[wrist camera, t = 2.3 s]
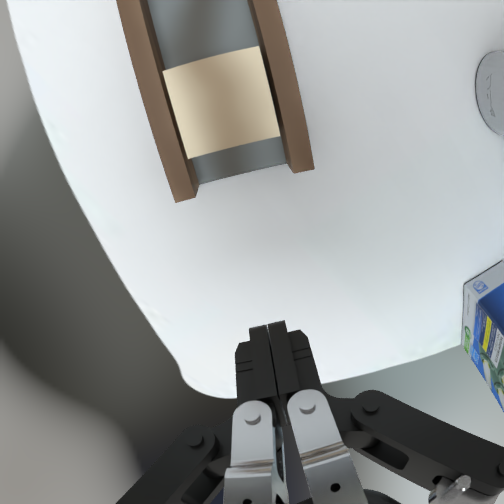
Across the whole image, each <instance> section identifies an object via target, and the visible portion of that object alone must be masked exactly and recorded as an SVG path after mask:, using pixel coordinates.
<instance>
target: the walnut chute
mask: <svg viewBox="0 0 504 504" xmlns="http://www.w3.org/2000/svg"><path fill="white" fill-rule="evenodd" d="M116 1H117V6H118V10H119V14H120V18H121V22H122V26H123V30H124V34H125V38H126V42H127V46H128V50H129V53H130V57H131V61H132V65H133V68H134V72H135V75H136V79H137V82H138V86H139V90H140V93H141V96H142V100H143V103H144V107H145V110H146V113H147V117H148V120H149V123H150V126H151V130H152V133H153V136H154V139H155V143H156V146H157V149H158V152H159V155H160V158H161V161H162V164H163V167H164V170H165V173H166V176H167V179H168V182H169V185H170V188H171V191H172V194H173V197H174V200H175V203H177V202H181V201H184V200H188V199H192V198H195V197H196V194H197V191H198V187H199V185H200V184H203V183H207V182H211V181H215V180H219V179H222V178H226V177H230V176H234V175H238V174H242V173H246V172H251V171H255V170H259V169H263V168H268V167H272V166H277V165H281V164H286V163H287V164H288V166H289V167H290V169H291V170H292V172H293V173H299V172H303V171H308V170H313V169H314V163H313V157H312V152H311V146H310V141H309V136H308V130H307V125H306V120H305V115H304V110H303V106H302V101H301V96H300V92H299V87H298V83H297V78H296V74H295V70H294V65H293V61H292V57H291V53H290V49H289V45H288V41H287V37H286V33H285V29H284V25H283V22H282V18H281V14H280V11H279V7H278V4H277V0H116ZM256 46H259V48H260V52H261V56H262V60H263V64H264V68H265V72H266V76H267V80H268V84H269V88H270V93H271V97H272V101H273V105H274V110H275V114H276V119H277V123H278V127H279V132H280V136H278V137H273V138H269V139H264V140H260V141H256V142H251V143H247V144H243V145H239V146H235V147H231V148H227V149H223V150H219V151H215V152H212V153H208V154H204V155H201V156H197V157H193V158H190V159H188V157H187V154H186V151H185V148H184V144H183V141H182V138H181V134H180V131H179V127H178V124H177V121H176V117H175V114H174V110H173V107H172V103H171V100H170V96H169V93H168V89H167V86H166V82H165V79H164V75H163V71H165V70H168V69H171V68H174V67H177V66H181V65H184V64H187V63H191V62H194V61H198V60H201V59H205V58H209V57H212V56H216V55H220V54H224V53H229V52H233V51H237V50H242V49H247V48H251V47H256Z"/></svg>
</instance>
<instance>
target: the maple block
mask: <svg viewBox="0 0 504 504" xmlns="http://www.w3.org/2000/svg"><path fill="white" fill-rule="evenodd" d="M163 75H164V79H165V82H166V86H167V89H168V93H169V96H170V100H171V103H172V107H173V110H174V114H175V117H176V121H177V124H178V127H179V131H180V134H181V138H182V141H183V144H184V148H185V151H186V154H187V157H188V159H190V158H193V157H197V156H201V155H204V154H208V153H212V152H215V151H219V150H223V149H227V148H231V147H235V146H239V145H243V144H247V143H251V142H256V141H260V140H264V139H269V138H273V137H278V136H280V132H279V127H278V123H277V119H276V114H275V110H274V105H273V101H272V97H271V93H270V88H269V84H268V80H267V76H266V72H265V68H264V64H263V60H262V56H261V52H260V48H259V46H256V47H251V48H247V49H242V50H237V51H233V52H229V53H224V54H220V55H216V56H212V57H209V58H205V59H201V60H198V61H194V62H191V63H187V64H184V65H181V66H177V67H174V68H171V69H168V70H165V71H163Z"/></svg>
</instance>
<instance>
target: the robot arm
mask: <svg viewBox="0 0 504 504" xmlns="http://www.w3.org/2000/svg"><path fill="white" fill-rule="evenodd" d="M476 94H477V100H478V105H479V108H480V112H481V114H482V116H483V118H484V120H485V122H486V123H487V125H488V126H489V127H490V128H491V129H492V130H493V131H494V132H496V133H497V134H499V135H502V136H504V51H495V52H491V53H489V54H487V55H486V56H485V57H484V58H483V60H482V62H481V64H480V65H479V69H478V72H477V78H476ZM268 330H269V332H268ZM249 334H250V341H247V342H242V343H239V345H238V347H237V349H236V352H235V364H236V365H235V366H236V386H237V409H236V410H235V412H234V414H233V416H232V417H231V418H230V419H229V420H227V421H226V422H224V423H222V424H219V425H217V426H215V427H212V428H209V427H207V426H204V425H193V426H190V427H188V428H186V429H185V430H184V431H183V432H182V433H181V434H180V435H179V436H178V437H177V439H176V440H175V441H174V442H173V443H172V444H171V445H170V446H169V447H168V449H167V450H166V451H165V452H164V453H163V454H162V455H161V456H160V457H159V458H158V460H157V461H156V462H155V463H154V464H153V465H152V466H151V467H150V468H149V469H148V470H147V471H146V472H145V474H144V475H143V476H142V477H141V478H140V479H139V480H138V481H137V482H136V483H135V484H134V485H133V486H132V487H131V488H130V489H129V490H128V491H127V492H126V493H125V495H124V496H123V497H122V498H121V499H120V500H119V501H118V502H117V503H116V504H210V503H211V501H212V500H213V499H214V498H215V497H216V495H217V494H218V493H219V492H220V491H221V489H222V488H223V487H224V503H223V504H289V500H288V499H289V498H288V491H287V488H286V478H285V477H286V476H285V461H284V460H285V459H284V444H283V434H282V428H281V427H282V426H287V422H286V418H287V421H288V424H289V425H291V424H292V428H293V432H294V435H295V439H296V442H297V446H298V450H299V453H300V456H301V461H302V464H303V468H304V472H305V475H306V479H307V482H308V486H309V489H310V493H311V498H309V499H307V500H304V501H302V502H300V503H297V504H401V503H399V502H397V501H396V500H394V499H392V498H390V497H389V496H387V495H385V494H383V493H381V492H377V491H374V490H368V489H363V488H362V485H361V482H360V480H359V477H358V474H357V472H356V469H355V466H354V464H353V461H352V458H351V456H350V453H349V451H348V449H347V448H353V449H354V450H355V451H357V452H359V453H360V454H362V455H363V456H365V457H367V458H369V459H370V460H372V461H374V462H376V463H378V464H379V465H381V466H383V467H385V468H387V469H388V470H390V471H392V472H394V473H396V474H398V475H400V476H401V477H404V478H406V479H407V480H409V481H411V482H413V483H415V484H417V485H419V486H421V487H423V488H426V489H427V490H429V491H431V492H430V495H429V499H428V500H429V504H494V503H495V501H496V499H497V497H498V495H499V494H500V493H501V492H502V491H503V490H504V447H502V446H499V445H497V444H495V443H492V442H490V441H487V440H485V439H482V438H480V437H478V436H475V435H473V434H471V433H468V432H466V431H464V430H461V429H459V428H457V427H455V426H452V425H450V424H448V423H446V422H443V421H441V420H439V419H437V418H435V417H433V416H430V415H428V414H426V413H424V412H422V411H420V410H418V409H415V408H413V407H411V406H409V405H407V404H405V403H403V402H401V401H399V400H397V399H395V398H393V397H390V396H389V395H386V394H384V393H383V392H380V391H376V390H368V391H364V392H362V393H360V394H359V395H357V396H356V397H355V398H353V399H350V398H336V397H333V396H330V395H328V394H327V393H326V392H325V391H324V390H323V388H322V386H321V383H320V379H319V376H318V372H317V368H316V365H315V361H314V358H313V354H312V351H311V348H310V344H309V341H308V337H307V336H306V335H305V334H304V333H303V332H302V331H301V330H296V331H291V332H287V328H286V324H285V320H283V321H279V322H275V323H270V324H268V328H267V325H262V326H257V327H253V328H249ZM285 415H286V416H285Z"/></svg>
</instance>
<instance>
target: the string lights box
mask: <svg viewBox="0 0 504 504" xmlns="http://www.w3.org/2000/svg"><path fill="white" fill-rule="evenodd" d="M461 345H462V346H463V347H464V349H465V350H466V352H467V353H468V355H469V356H470V357H471V359H472V361H473V362H474V364H475V365H476V367H477V368H478V370H479V372H480V373H481V375H482V376H483V378H484V379H485V381H486V383H487V384H488V386H489V388H490V389H491V391H492V393H493V394H494V396H495V398H496V399H497V401H498V403H499V405H500V406H501V408H502V410H503V412H504V262H503V261H501V262H500V263H499V264H497V265H495V266H494V267H492V268H491V269H489V270H487V271H486V272H484V273H483V274H481V275H479V276H478V277H476V278H474V279H473V280H471V281H469V282H468V283H466V284H465V285H464V309H463V327H462V340H461Z"/></svg>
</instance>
